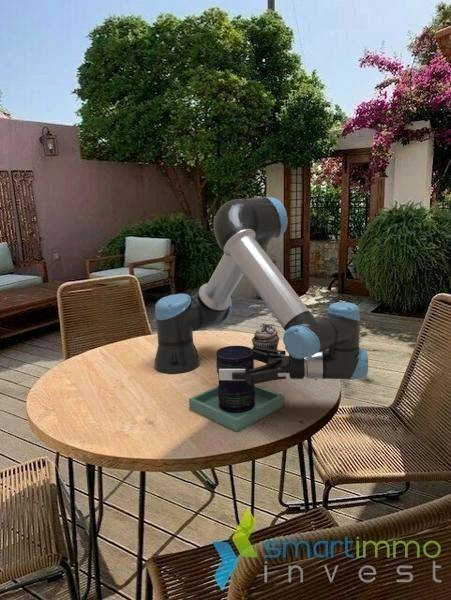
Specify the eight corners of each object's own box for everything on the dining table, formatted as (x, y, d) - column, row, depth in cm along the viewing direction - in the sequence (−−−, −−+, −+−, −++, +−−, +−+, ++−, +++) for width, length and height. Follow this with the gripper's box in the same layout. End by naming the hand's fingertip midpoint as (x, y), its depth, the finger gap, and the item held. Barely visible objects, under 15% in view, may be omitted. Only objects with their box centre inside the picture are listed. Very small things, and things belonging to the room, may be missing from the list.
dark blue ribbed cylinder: (230, 393, 129) (227, 343, 126) (261, 400, 124) (260, 348, 121) (211, 408, 121) (208, 355, 118) (244, 416, 116) (242, 361, 113)
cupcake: (254, 347, 169) (253, 321, 166) (280, 347, 167) (280, 321, 164) (250, 356, 160) (249, 329, 157) (278, 357, 158) (277, 329, 155)
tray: (189, 409, 123) (188, 398, 123) (236, 387, 135) (236, 377, 135) (237, 431, 111) (236, 420, 110) (284, 405, 123) (284, 395, 122)
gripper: (307, 399, 107) (216, 398, 109) (302, 360, 131) (228, 360, 133) (307, 369, 105) (215, 369, 108) (302, 335, 129) (227, 335, 132)
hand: (222, 364), depth 120 cm, fingers open, 13 cm apart
